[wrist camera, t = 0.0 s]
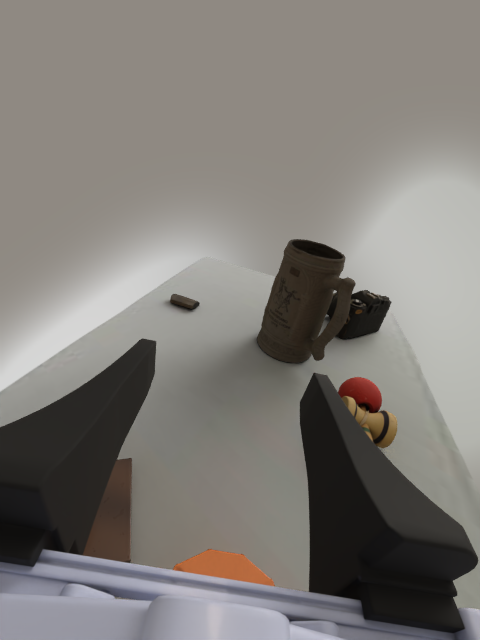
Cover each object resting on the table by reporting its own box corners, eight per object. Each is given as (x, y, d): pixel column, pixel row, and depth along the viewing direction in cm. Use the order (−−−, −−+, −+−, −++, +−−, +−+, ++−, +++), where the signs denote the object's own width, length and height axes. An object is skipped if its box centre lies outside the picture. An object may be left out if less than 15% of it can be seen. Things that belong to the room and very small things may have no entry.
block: (192, 312, 61) (193, 304, 61) (167, 303, 63) (167, 295, 62) (200, 306, 64) (201, 298, 64) (176, 297, 66) (177, 290, 65)
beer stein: (243, 334, 58) (274, 235, 47) (280, 324, 65) (315, 235, 54) (299, 388, 49) (352, 281, 38) (336, 370, 56) (390, 275, 45)
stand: (130, 566, 24) (132, 525, 21) (-7, 600, 21) (-29, 557, 18) (131, 464, 31) (133, 422, 28) (30, 478, 28) (19, 432, 25)
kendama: (403, 528, 33) (379, 400, 47) (424, 501, 29) (391, 371, 43) (331, 510, 34) (329, 392, 48) (341, 482, 30) (336, 363, 45)
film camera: (336, 306, 80) (350, 271, 75) (381, 326, 75) (399, 291, 70) (307, 325, 67) (322, 285, 62) (360, 352, 61) (381, 310, 56)
